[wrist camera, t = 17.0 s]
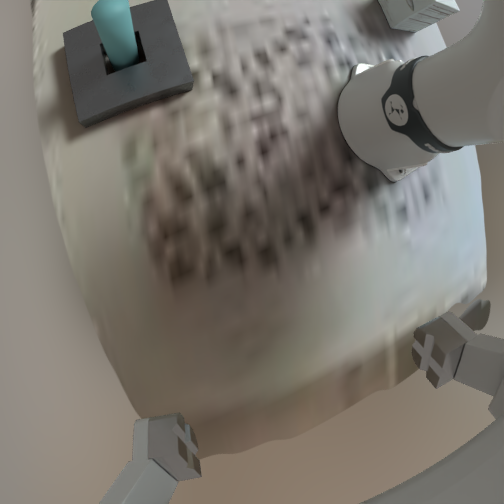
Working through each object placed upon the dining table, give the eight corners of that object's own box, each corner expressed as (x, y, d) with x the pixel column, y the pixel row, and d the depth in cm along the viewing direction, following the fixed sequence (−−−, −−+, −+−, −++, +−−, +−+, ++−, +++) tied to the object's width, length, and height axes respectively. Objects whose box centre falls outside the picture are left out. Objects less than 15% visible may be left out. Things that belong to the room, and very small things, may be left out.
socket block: (166, 9, 31) (166, -3, 28) (192, 89, 34) (193, 81, 31) (68, 42, 28) (62, 32, 26) (85, 127, 32) (79, 122, 29)
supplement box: (374, -3, 37) (415, -34, 25) (402, 3, 39) (443, -23, 27) (389, 29, 39) (435, 1, 27) (416, 33, 40) (461, 11, 28)
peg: (136, 46, 31) (125, -10, 19) (142, 68, 32) (131, 14, 20) (110, 56, 31) (89, 2, 18) (115, 77, 31) (93, 27, 19)
